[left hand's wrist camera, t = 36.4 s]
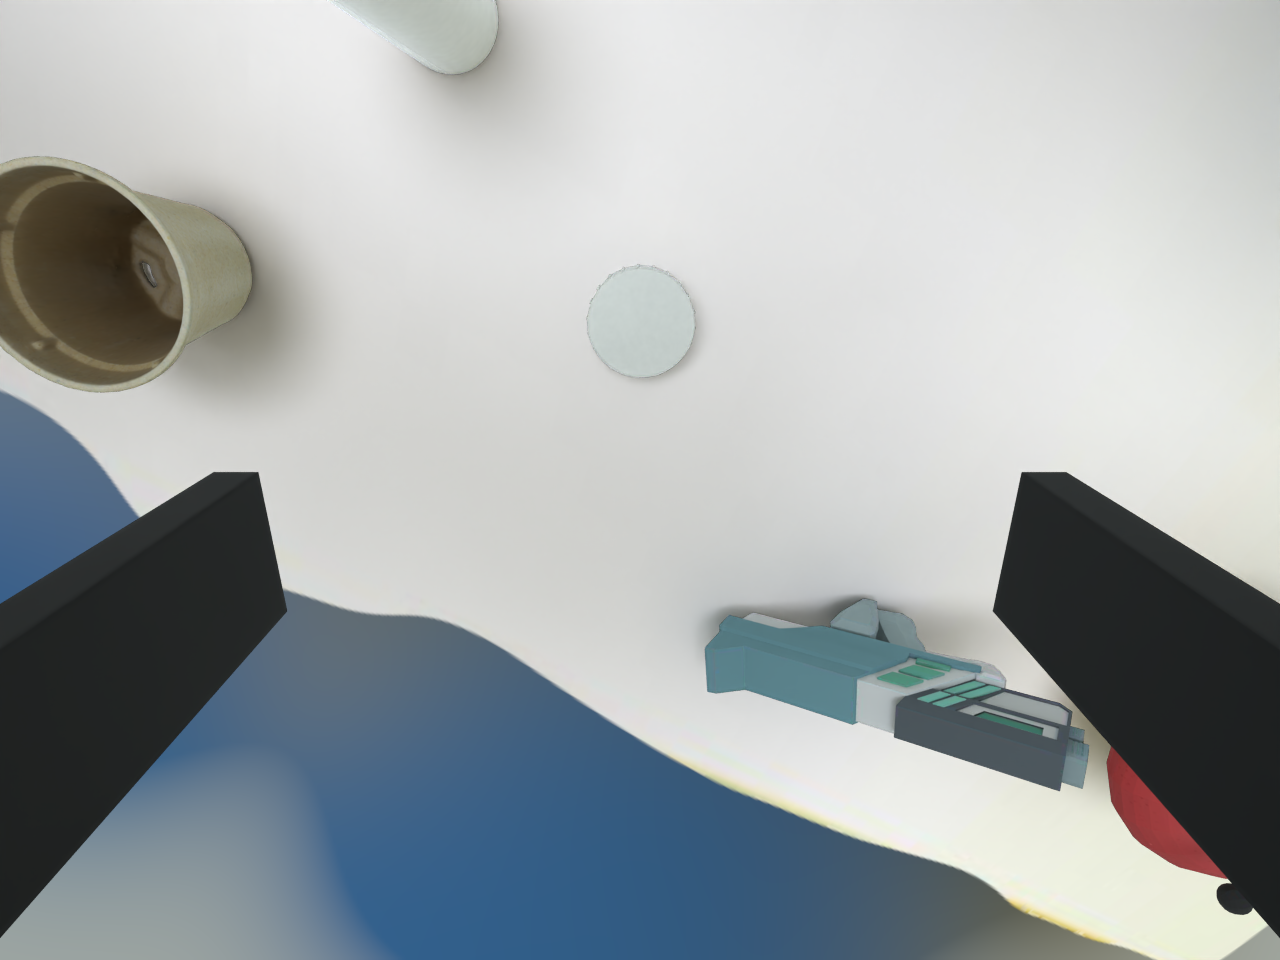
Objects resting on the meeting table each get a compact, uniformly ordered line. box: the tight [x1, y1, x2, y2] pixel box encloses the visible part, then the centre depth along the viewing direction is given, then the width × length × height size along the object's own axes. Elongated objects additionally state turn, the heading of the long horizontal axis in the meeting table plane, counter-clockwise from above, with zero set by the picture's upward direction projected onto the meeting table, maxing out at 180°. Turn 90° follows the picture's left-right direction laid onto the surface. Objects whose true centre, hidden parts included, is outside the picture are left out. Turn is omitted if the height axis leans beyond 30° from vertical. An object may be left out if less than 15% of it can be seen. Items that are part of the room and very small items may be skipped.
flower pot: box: [0, 156, 252, 393], centre depth 33 cm, size 9×9×9 cm
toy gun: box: [705, 599, 1089, 791], centre depth 40 cm, size 4×19×10 cm
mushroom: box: [1107, 746, 1253, 915], centre depth 39 cm, size 16×16×15 cm
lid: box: [587, 264, 696, 378], centre depth 37 cm, size 6×6×2 cm
